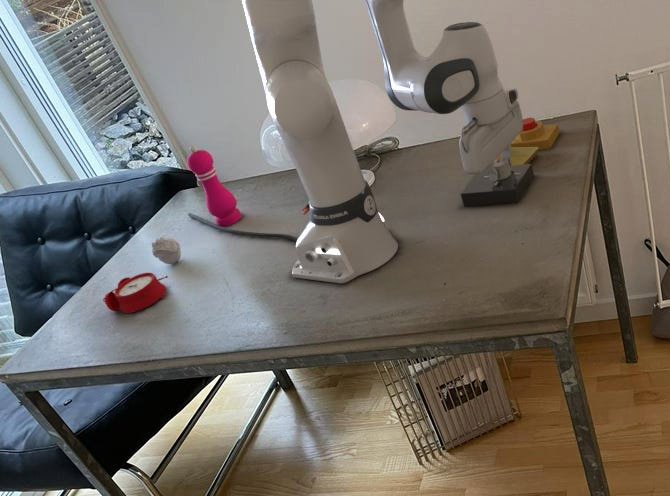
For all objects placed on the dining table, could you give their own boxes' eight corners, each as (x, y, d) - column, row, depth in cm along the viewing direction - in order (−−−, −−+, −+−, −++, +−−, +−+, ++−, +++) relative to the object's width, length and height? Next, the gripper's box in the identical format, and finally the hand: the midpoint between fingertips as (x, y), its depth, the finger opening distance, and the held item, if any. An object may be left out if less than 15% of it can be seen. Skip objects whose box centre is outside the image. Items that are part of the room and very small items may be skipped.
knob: (512, 176, 151) (508, 161, 150) (493, 182, 152) (489, 167, 150) (510, 169, 155) (506, 154, 153) (491, 174, 155) (488, 159, 153)
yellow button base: (503, 153, 170) (499, 137, 168) (514, 138, 175) (511, 122, 173) (549, 148, 165) (546, 131, 163) (559, 133, 170) (556, 116, 168)
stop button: (518, 132, 168) (516, 125, 167) (523, 126, 170) (521, 118, 169) (533, 131, 166) (531, 123, 165) (538, 124, 168) (536, 116, 167)
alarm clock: (145, 297, 155) (83, 290, 158) (154, 321, 159) (94, 314, 162) (171, 269, 162) (111, 263, 166) (179, 293, 166) (121, 287, 170)
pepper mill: (242, 210, 189) (206, 135, 178) (244, 220, 184) (207, 143, 172) (215, 221, 189) (177, 147, 177) (217, 231, 183) (177, 155, 171)
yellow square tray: (523, 174, 158) (521, 165, 157) (489, 174, 163) (486, 165, 162) (541, 155, 163) (539, 146, 162) (508, 156, 168) (506, 147, 167)
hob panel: (464, 206, 154) (459, 193, 152) (482, 181, 161) (478, 168, 160) (518, 202, 148) (514, 188, 147) (534, 176, 156) (531, 162, 154)
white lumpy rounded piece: (157, 273, 173) (141, 247, 169) (167, 258, 178) (153, 233, 174) (180, 267, 171) (165, 241, 167) (190, 252, 177) (176, 227, 173)
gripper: (473, 131, 137) (491, 198, 145) (520, 85, 149) (535, 149, 157) (444, 133, 141) (464, 198, 149) (493, 88, 153) (509, 151, 161)
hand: (501, 173), depth 153 cm, fingers closed on knob, 4 cm apart
